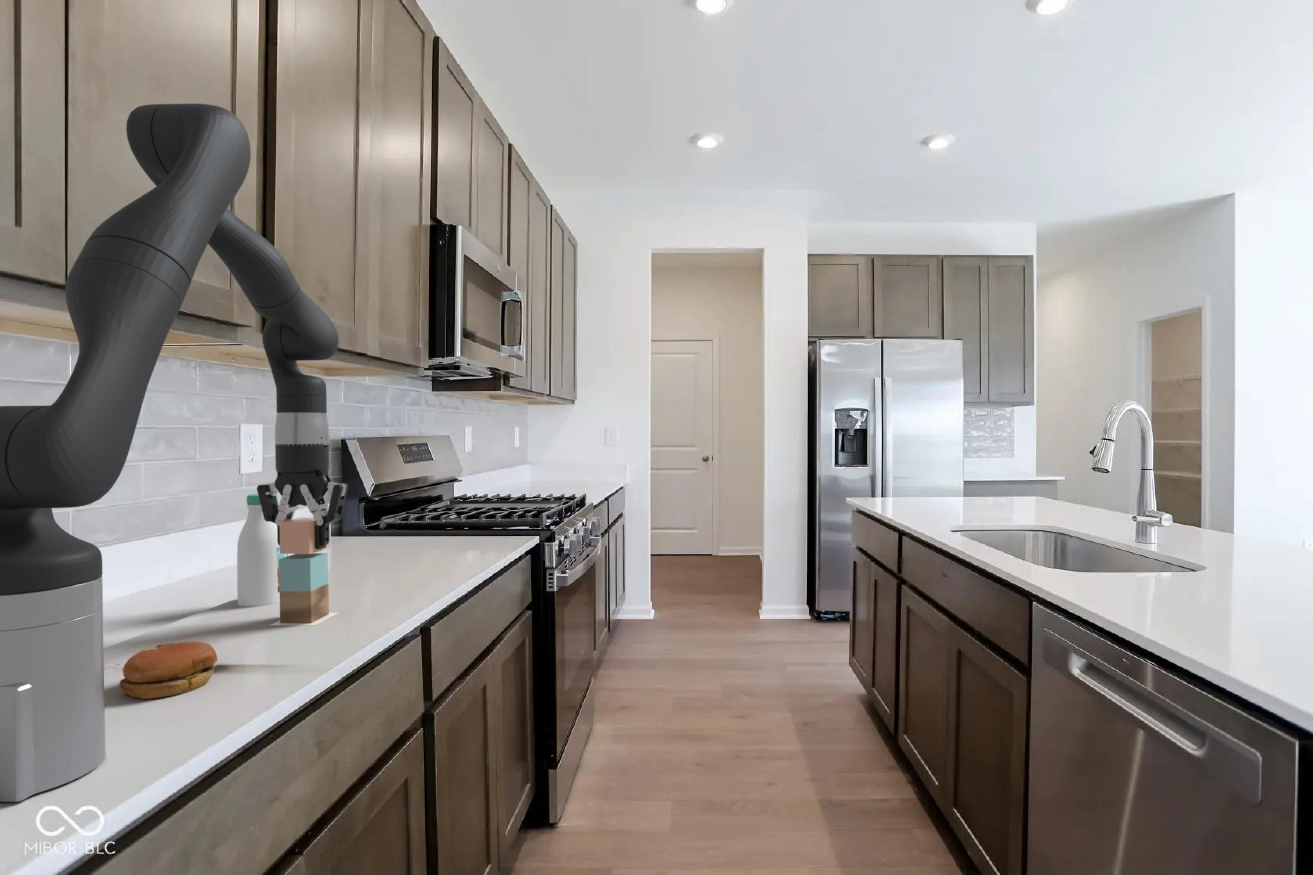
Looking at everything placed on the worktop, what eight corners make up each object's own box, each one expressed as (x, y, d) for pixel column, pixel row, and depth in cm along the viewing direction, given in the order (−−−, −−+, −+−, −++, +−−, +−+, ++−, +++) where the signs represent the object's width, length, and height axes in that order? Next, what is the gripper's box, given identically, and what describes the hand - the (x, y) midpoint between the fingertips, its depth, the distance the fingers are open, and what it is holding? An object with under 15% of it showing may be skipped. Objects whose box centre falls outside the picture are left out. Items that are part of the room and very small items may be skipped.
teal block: (310, 591, 101) (310, 559, 101) (279, 591, 101) (278, 559, 101) (327, 583, 106) (327, 553, 106) (297, 583, 106) (297, 553, 106)
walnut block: (311, 623, 101) (311, 591, 101) (280, 623, 101) (279, 591, 101) (328, 614, 106) (328, 583, 106) (298, 614, 106) (298, 583, 106)
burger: (173, 703, 74) (172, 662, 74) (98, 701, 75) (98, 660, 75) (236, 671, 84) (236, 635, 84) (170, 670, 85) (169, 634, 85)
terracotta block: (309, 554, 101) (309, 521, 101) (280, 553, 102) (279, 521, 102) (329, 548, 106) (329, 517, 106) (301, 547, 107) (301, 517, 107)
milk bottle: (265, 613, 111) (263, 496, 110) (226, 611, 112) (225, 496, 112) (298, 602, 118) (297, 492, 118) (262, 600, 120) (260, 491, 119)
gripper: (242, 442, 100) (244, 552, 100) (334, 441, 99) (335, 552, 99) (273, 441, 107) (274, 544, 107) (358, 441, 107) (359, 544, 107)
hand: (303, 547), depth 103 cm, fingers closed on terracotta block, 5 cm apart
